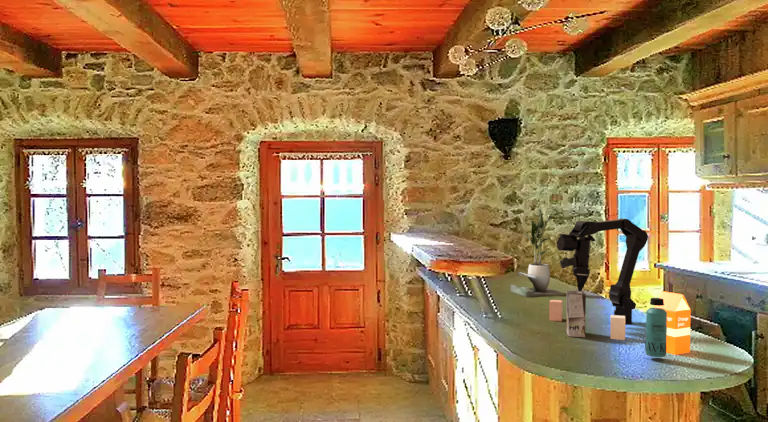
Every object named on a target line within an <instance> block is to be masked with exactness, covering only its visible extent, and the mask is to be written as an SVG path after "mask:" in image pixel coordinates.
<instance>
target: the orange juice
mask: <svg viewBox="0 0 768 422" xmlns="http://www.w3.org/2000/svg"><path fill="white" fill-rule="evenodd" d="M659 294H660V295H659V297H658V298H662V299H663V300H664V305H663V306H656V305H654V307H653V308H662V309H664V310H665V311H666V312H667V338H666V348H667V350H666V352H667V353H666V354H671V355H674V356H675V355H682V354H685V353H687V354H688V353H690V352H691V311H692V310H691V307H690V305H689V303H688V302H687V301H688V300H687V299H686V297H685V295H684V294H682V293H676V292H670V291H665V290H661V292H660V293H659Z"/></svg>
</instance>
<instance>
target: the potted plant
mask: <svg viewBox="0 0 768 422" xmlns="http://www.w3.org/2000/svg"><path fill="white" fill-rule="evenodd" d="M537 215H538V222H537V223H536V222H535V221H533V220H531V222H530V234H531V237H530V236H529V233H526V232H523V234H524V235H525V236H526V237H527V238H528V239H529V241H530V243H531V245H532V249H533V258H534V263H529V264H528V268H527V273H526V272H525V273H524V272H521V271H520V272H517V274H516V275H517V276H525V277H527V279H528V280H529V281H530V283H532V286H533V287H530V288H529V287H528V286H526V285H525V286H518V285H515V284H510V289H509V290H510V292H511V293H514V294H517V295H520V296H521V297H525V298H535V297H536V298H537V297H539V298H540V297H558V296H562V297H563V296H565V292H562V291H559V290H555V289H552V288H548V287H549V284H550V279H551V269H550V264H548V263H542V259H543V255H544V254H545V253H546V252H547V251H548V248H546V249H545V250H543V251H542V247H543V243H544V242H545V241H549V240H551V238H550V237H545V238H544V234H545V230H546V226H547V224H548V223H549V222H550V221H551V220H552V218H553V215H549V216H548V218H547V219H546V222H544V217H543V214H542V210H541V209H540V208H538V209H537Z"/></svg>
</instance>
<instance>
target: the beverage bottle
mask: <svg viewBox="0 0 768 422" xmlns="http://www.w3.org/2000/svg"><path fill="white" fill-rule="evenodd" d="M649 304H650V305H651V306H655V305H656V306H663V305H664V300H663V299H662V298H659V297H651V298H650V301H649ZM645 314H646V321H645V322H646V325H645V335H644V336H645V340H644V349H645V350H644V351H645V352H644V353H645V355H646V356H649V357H653V358H664V357H667V354H668V353H667V352H666V350H667V348H666V338H667V312H666V311H665V310H664V309H662V308H654V307H650V308H648V309H646V313H645Z"/></svg>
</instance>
